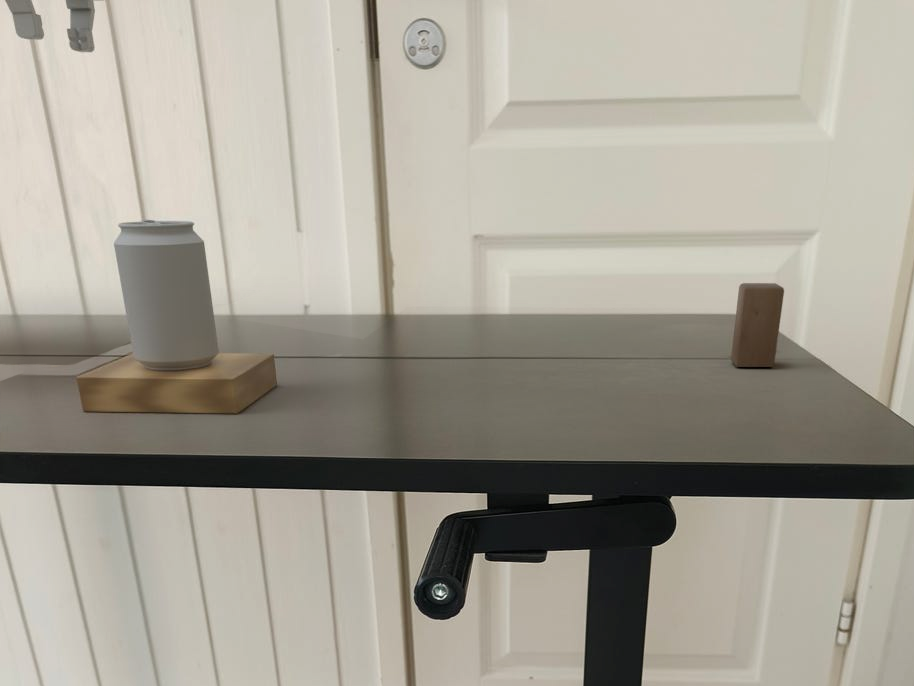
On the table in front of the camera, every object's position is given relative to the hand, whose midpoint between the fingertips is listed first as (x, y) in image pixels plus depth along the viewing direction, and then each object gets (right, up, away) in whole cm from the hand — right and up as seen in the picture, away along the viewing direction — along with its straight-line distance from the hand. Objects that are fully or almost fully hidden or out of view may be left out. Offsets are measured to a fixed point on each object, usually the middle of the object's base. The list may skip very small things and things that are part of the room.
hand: (58, 45), depth 83 cm
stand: (+11, -32, +2) cm, 34 cm away
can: (+11, -29, 0) cm, 31 cm away
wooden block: (+67, -25, +14) cm, 73 cm away
